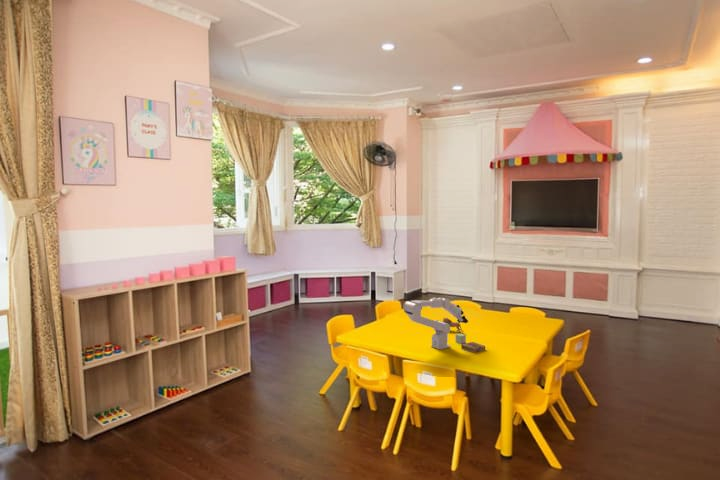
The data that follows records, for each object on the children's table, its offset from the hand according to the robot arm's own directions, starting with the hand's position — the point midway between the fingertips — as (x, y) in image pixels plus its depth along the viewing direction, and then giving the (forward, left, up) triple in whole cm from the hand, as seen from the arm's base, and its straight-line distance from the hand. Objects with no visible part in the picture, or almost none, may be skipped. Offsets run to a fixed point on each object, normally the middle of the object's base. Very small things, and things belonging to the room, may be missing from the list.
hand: (464, 317), depth 288 cm
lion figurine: (+10, +20, -16) cm, 27 cm away
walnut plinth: (-8, -14, -16) cm, 23 cm away
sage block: (-4, 0, -15) cm, 16 cm away
